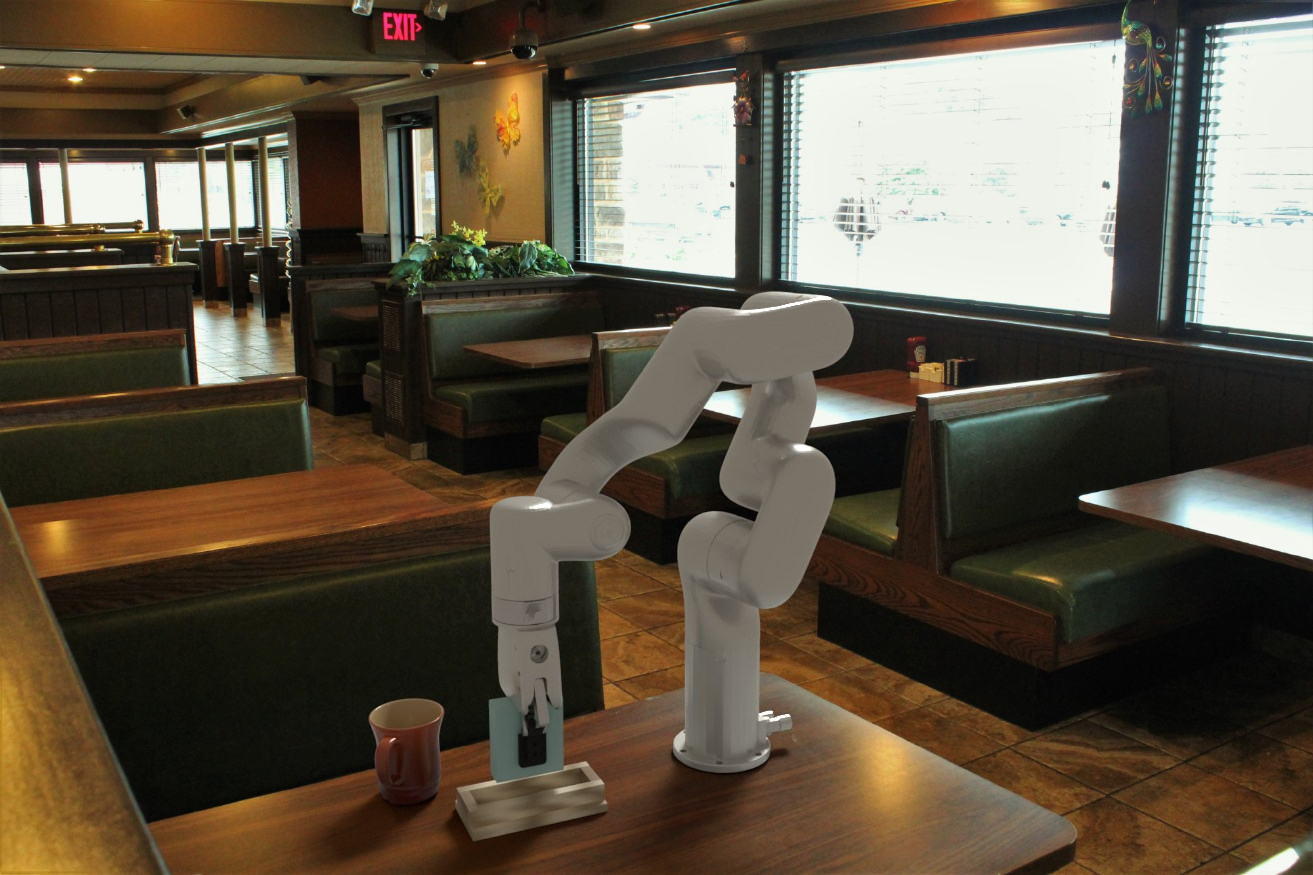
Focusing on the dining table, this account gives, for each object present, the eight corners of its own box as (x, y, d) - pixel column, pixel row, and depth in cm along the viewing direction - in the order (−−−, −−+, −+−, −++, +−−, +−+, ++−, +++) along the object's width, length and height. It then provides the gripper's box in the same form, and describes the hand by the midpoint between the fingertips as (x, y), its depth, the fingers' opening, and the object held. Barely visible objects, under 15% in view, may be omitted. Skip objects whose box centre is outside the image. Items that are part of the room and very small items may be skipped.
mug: (392, 772, 141) (388, 695, 140) (458, 779, 140) (454, 701, 138) (347, 821, 130) (342, 738, 128) (419, 829, 128) (415, 744, 126)
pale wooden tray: (583, 780, 139) (583, 758, 139) (607, 810, 132) (607, 787, 131) (455, 808, 133) (454, 784, 132) (473, 841, 126) (472, 816, 125)
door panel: (556, 760, 134) (555, 688, 132) (563, 769, 132) (562, 697, 130) (490, 773, 131) (488, 699, 129) (496, 783, 128) (495, 708, 127)
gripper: (581, 624, 122) (582, 783, 125) (535, 582, 137) (537, 725, 140) (514, 634, 119) (517, 796, 122) (474, 590, 134) (478, 736, 137)
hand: (528, 757), depth 131 cm, fingers closed on door panel, 2 cm apart
